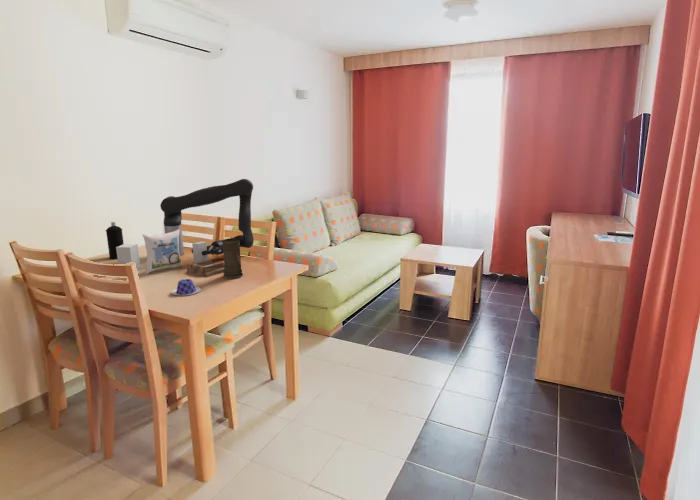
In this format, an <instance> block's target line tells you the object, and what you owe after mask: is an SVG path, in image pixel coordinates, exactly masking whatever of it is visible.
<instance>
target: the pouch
mask: <svg viewBox="0 0 700 500" xmlns="http://www.w3.org/2000/svg"><path fill="white" fill-rule="evenodd" d="M179 231H180V229H178V230H176V231H173V232H170V233H166V234H165V233H161V234H151V235H149V234H142V237H143V240H144V244H145V250H146V263H147V264H146V275H147V274H149V273H152V272H153V271H157V270H161V269H164V268H167V267H175V266H176V267H177V266H181V267H182V266H183V263H182V261H181V260H182V259H181V255H180V253H179Z"/></svg>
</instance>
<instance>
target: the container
mask: <svg viewBox="0 0 700 500" xmlns="http://www.w3.org/2000/svg"><path fill="white" fill-rule="evenodd" d="M223 239H224V240H223ZM223 239H221V240H222V243H223V263H224V272H223V278H225V279H230V280H235V279H238V278H239V279H240V278H241V277H243V275H244V273H243V269H242V263H241V247H240V246H239V245H240V239H236V238H233V237H231V238H223Z"/></svg>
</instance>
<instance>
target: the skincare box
mask: <svg viewBox="0 0 700 500" xmlns="http://www.w3.org/2000/svg"><path fill="white" fill-rule="evenodd" d="M192 249H193V253H192V256H193V263H197V262H201V261H205V260H209V259H208V255H204V256H203V255H202V251H206V250H207V242H206V241H202V240H201V241H197V242H196V241H195V242H192Z"/></svg>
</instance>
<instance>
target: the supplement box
mask: <svg viewBox="0 0 700 500" xmlns="http://www.w3.org/2000/svg"><path fill="white" fill-rule="evenodd" d="M116 251H117V258H118V259H117V265H118V264H126V263H129V262H135V263H136V268H137V270H139V269H141V261H140V254H139V246H138V244H135V243H133V244H132V243H124V244H123V245H121V246H118V247H116Z"/></svg>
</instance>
